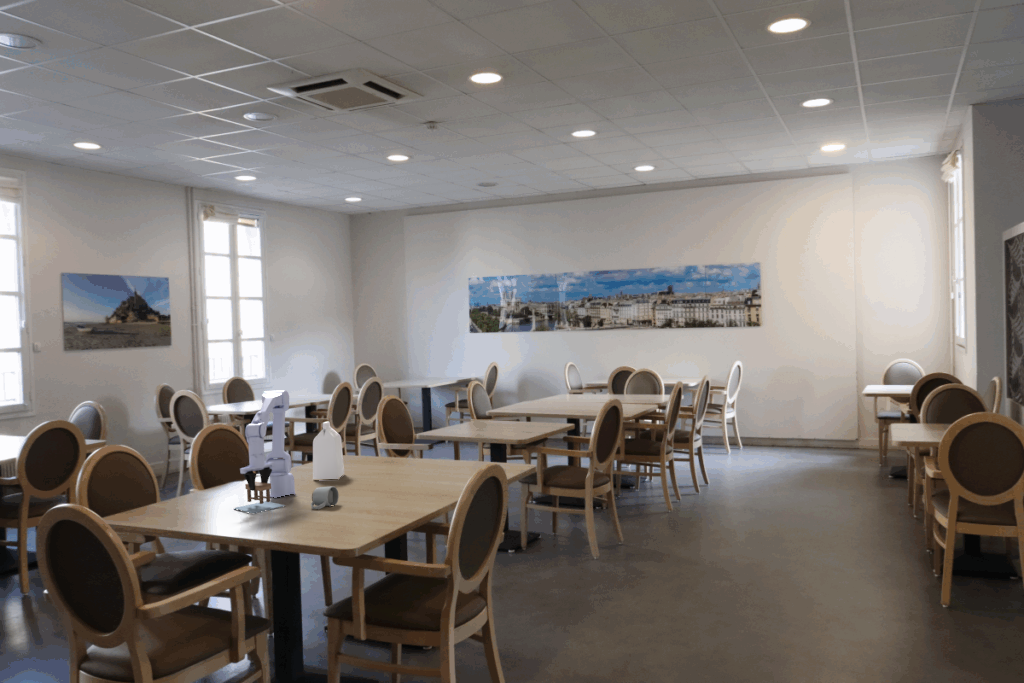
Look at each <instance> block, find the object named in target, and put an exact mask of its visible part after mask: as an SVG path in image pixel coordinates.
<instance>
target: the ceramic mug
mask: <svg viewBox="0 0 1024 683" xmlns="http://www.w3.org/2000/svg"><path fill="white" fill-rule="evenodd" d="M339 497H340V495H339V490H338V488H337V487H336V486H334V485H332V486H320V487H316V488H314V490H313V491H312V493H311V500H312V501H311V503H310V507H311V509H312V510H314V509H318V510H321V509H324V507H326V506H329V507H330V508H332V507H331V505H335V506H336V505H337V504H338V501H339Z"/></svg>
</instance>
